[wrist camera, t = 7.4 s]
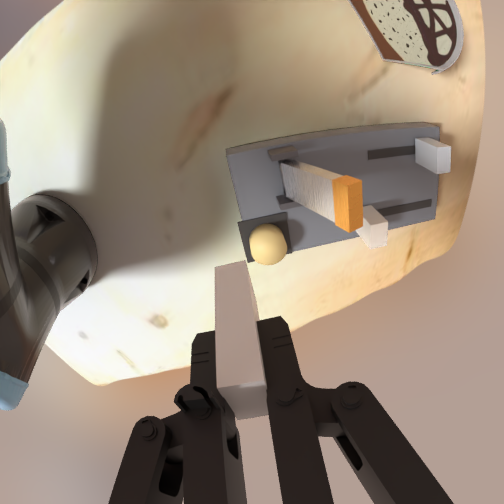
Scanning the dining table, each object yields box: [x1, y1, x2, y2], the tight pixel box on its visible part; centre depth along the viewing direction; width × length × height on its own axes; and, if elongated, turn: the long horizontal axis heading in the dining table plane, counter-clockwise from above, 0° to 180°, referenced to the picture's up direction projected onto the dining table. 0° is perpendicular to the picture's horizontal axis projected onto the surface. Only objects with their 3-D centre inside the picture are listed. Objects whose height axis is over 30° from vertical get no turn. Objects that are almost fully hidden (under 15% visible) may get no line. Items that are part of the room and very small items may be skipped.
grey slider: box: [415, 137, 451, 174], centre depth 24 cm, size 2×3×4 cm
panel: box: [226, 122, 440, 263], centre depth 29 cm, size 24×12×5 cm, turn 102°
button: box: [249, 224, 287, 265], centre depth 30 cm, size 4×4×2 cm
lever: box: [278, 159, 363, 233], centre depth 23 cm, size 1×4×10 cm, turn 12°
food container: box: [348, 0, 464, 75], centre depth 16 cm, size 12×6×10 cm, turn 32°
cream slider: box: [355, 205, 388, 249], centre depth 28 cm, size 2×3×4 cm
